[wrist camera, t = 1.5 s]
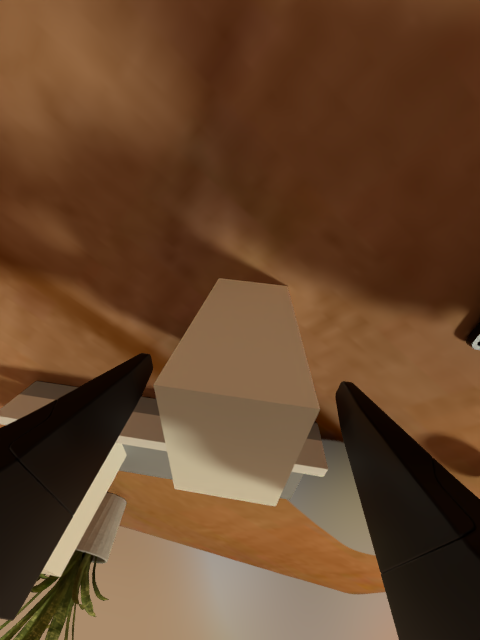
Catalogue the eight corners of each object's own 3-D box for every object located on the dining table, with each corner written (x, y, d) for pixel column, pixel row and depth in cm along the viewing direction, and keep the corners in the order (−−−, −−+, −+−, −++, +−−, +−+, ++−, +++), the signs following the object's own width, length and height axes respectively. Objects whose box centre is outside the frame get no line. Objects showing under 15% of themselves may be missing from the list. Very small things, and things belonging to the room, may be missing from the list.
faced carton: (57, 423, 19) (-58, 545, 12) (117, 432, 19) (33, 563, 12) (72, 446, 21) (-18, 561, 15) (126, 455, 21) (60, 577, 14)
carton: (291, 286, 12) (330, 410, 5) (274, 363, 15) (281, 507, 8) (218, 277, 12) (153, 384, 5) (216, 355, 15) (174, 488, 8)
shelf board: (317, 422, 17) (328, 468, 14) (288, 483, 24) (292, 524, 21) (35, 379, 19) (-9, 413, 16) (78, 448, 25) (53, 482, 22)
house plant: (40, 476, 31) (-140, 697, 17) (107, 471, 28) (-56, 748, 14) (101, 512, 38) (4, 696, 24) (161, 513, 34) (88, 731, 20)
